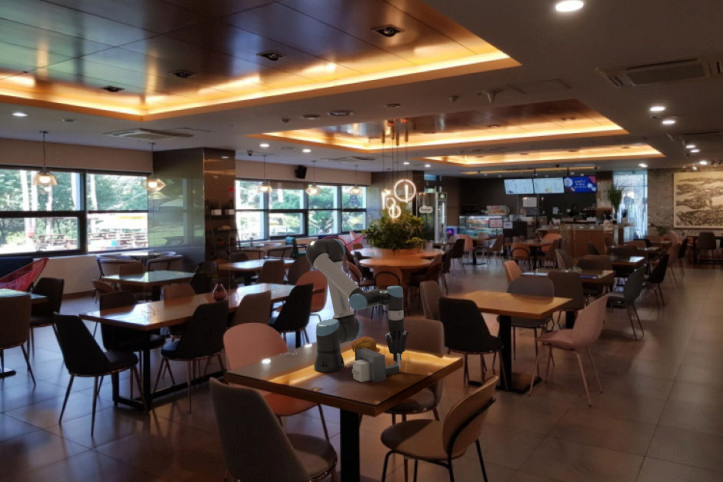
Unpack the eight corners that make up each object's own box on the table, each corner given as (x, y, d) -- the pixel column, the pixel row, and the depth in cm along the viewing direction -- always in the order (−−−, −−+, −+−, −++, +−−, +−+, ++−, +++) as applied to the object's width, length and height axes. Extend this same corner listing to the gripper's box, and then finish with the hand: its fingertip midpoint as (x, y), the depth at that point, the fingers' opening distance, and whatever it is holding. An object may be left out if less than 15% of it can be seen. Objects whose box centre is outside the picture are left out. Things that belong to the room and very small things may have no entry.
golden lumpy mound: (376, 349, 312) (376, 335, 313) (377, 352, 296) (377, 337, 297) (351, 350, 312) (351, 336, 312) (351, 353, 296) (350, 338, 297)
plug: (350, 379, 249) (349, 361, 249) (392, 369, 262) (392, 353, 261) (358, 382, 243) (357, 365, 243) (401, 373, 256) (400, 356, 255)
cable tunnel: (355, 374, 257) (354, 350, 256) (366, 371, 260) (365, 348, 259) (374, 382, 242) (373, 357, 242) (385, 380, 245) (384, 355, 245)
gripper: (389, 321, 251) (390, 371, 252) (411, 317, 258) (413, 366, 259) (380, 319, 258) (382, 368, 259) (402, 315, 264) (404, 363, 266)
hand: (397, 367), depth 259 cm, fingers closed
